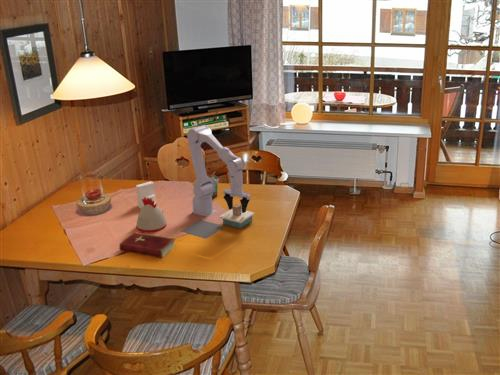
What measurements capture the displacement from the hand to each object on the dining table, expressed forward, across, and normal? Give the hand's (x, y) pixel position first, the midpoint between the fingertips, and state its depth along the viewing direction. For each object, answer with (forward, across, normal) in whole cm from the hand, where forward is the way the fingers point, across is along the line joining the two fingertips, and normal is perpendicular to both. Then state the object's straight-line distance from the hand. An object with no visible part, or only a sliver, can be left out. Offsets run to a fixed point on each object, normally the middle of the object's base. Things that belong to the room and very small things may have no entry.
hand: (237, 210), depth 268 cm
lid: (+3, 0, 0) cm, 3 cm away
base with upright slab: (+7, -53, -6) cm, 54 cm away
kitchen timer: (+7, -33, -24) cm, 41 cm away
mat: (+7, -10, -14) cm, 18 cm away
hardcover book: (+7, -19, -41) cm, 46 cm away
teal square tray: (+7, 0, 0) cm, 7 cm away
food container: (+7, -31, +22) cm, 39 cm away
